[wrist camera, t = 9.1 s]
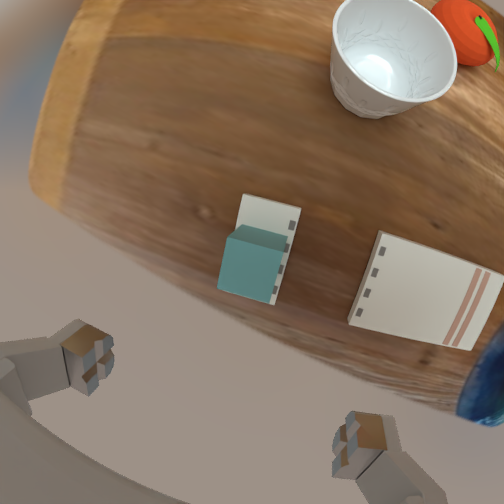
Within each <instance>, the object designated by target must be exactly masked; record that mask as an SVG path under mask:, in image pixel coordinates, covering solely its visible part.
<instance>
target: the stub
mask: <svg viewBox="0 0 504 504" xmlns="http://www.w3.org/2000/svg"><path fill="white" fill-rule="evenodd" d="M300 212H301V208H300V207H297V206H293V205H289V204H285V203H282V202H278V201H274V200H270V199H266V198H262V197H258V196H254V195H250V194H246V193H245V194H243V196H242V200H241V205H240V209H239V214H238V218H237V223H236V227H235V231H234V232H232V233H231V234H230V235H229V236H228V237H227V241H226V245H225V250H224V255H223V260H222V265H221V270H220V275H219V279H218V284H217V289H221V290H223V291H226V292H230V293H233V294H236V295H240V296H243V297H247V298H250V299H254V300H257V301H261V302H264V303H268V304H271V305H275V301H276V298H277V295H278V291H279V288H280V284H281V281H282V277H283V274H284V270H285V267H286V263H287V260H288V256H289V253H290V249H291V245H292V242H293V238H294V234H295V231H296V227H297V223H298V220H299V216H300Z"/></svg>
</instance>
